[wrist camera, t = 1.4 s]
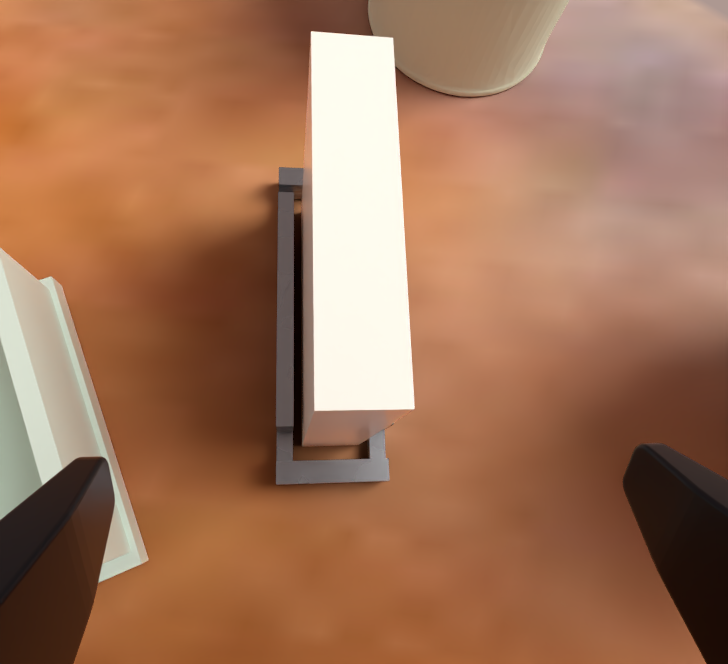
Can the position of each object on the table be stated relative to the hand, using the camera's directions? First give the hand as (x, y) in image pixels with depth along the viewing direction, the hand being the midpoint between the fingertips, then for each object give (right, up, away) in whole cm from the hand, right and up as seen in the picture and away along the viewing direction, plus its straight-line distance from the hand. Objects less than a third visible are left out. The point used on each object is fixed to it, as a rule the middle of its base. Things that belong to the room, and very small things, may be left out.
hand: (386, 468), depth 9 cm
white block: (-2, +3, +14) cm, 14 cm away
